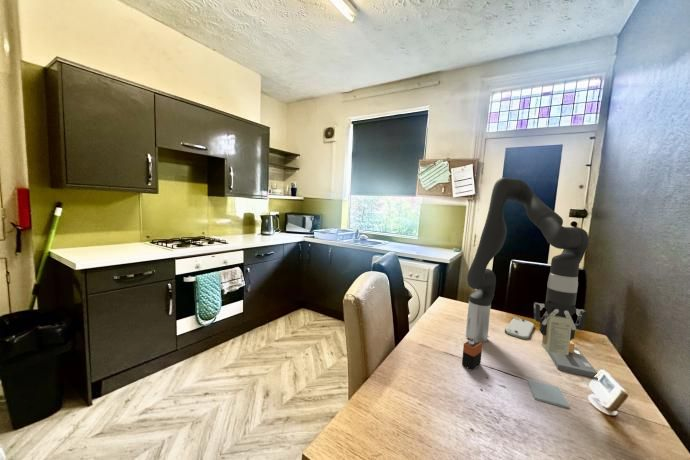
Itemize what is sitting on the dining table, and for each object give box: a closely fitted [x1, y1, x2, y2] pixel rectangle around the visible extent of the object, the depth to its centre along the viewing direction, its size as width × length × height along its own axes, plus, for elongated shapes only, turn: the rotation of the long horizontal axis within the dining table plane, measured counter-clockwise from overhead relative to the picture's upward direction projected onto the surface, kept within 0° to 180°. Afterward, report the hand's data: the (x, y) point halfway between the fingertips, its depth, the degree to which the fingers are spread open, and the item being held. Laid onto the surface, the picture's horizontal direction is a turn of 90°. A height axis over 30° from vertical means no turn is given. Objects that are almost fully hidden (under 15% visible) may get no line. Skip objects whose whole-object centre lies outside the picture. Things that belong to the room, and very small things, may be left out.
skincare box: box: [541, 311, 573, 355], centre depth 88 cm, size 6×4×12 cm
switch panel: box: [547, 346, 598, 378], centre depth 110 cm, size 20×12×2 cm, turn 156°
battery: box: [461, 339, 483, 371], centre depth 104 cm, size 4×7×10 cm, turn 128°
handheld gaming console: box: [504, 317, 535, 340], centre depth 137 cm, size 23×3×10 cm
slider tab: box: [569, 340, 576, 353], centre depth 114 cm, size 3×5×4 cm, turn 66°
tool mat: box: [527, 379, 570, 409], centre depth 89 cm, size 9×10×1 cm
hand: (555, 336), depth 88 cm, fingers closed on skincare box, 6 cm apart
